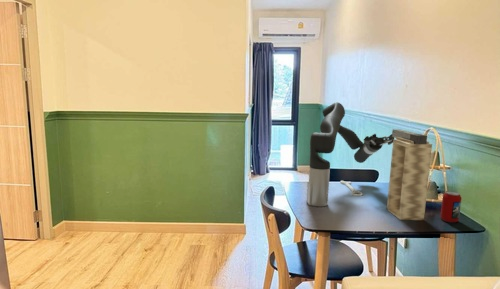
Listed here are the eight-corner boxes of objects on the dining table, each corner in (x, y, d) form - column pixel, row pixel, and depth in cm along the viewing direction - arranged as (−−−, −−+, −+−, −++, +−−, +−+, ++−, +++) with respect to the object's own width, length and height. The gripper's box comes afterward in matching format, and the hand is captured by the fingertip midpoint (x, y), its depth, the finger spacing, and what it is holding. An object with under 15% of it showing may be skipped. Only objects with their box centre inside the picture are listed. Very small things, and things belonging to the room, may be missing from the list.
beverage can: (458, 224, 143) (461, 196, 141) (439, 221, 146) (442, 193, 144) (458, 219, 148) (462, 192, 146) (440, 216, 152) (443, 189, 150)
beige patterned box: (400, 219, 146) (408, 141, 141) (386, 209, 159) (393, 136, 154) (423, 220, 147) (432, 141, 142) (408, 209, 159) (415, 137, 154)
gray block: (415, 144, 141) (416, 135, 140) (390, 136, 162) (391, 129, 162) (426, 144, 141) (427, 135, 140) (400, 136, 163) (401, 129, 162)
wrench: (349, 183, 206) (339, 183, 206) (349, 180, 205) (339, 179, 205) (363, 197, 178) (352, 196, 178) (364, 193, 178) (352, 192, 178)
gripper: (358, 138, 190) (369, 128, 175) (385, 139, 190) (397, 128, 175) (359, 152, 188) (370, 142, 172) (386, 152, 188) (399, 143, 173)
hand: (384, 135), depth 174 cm, fingers open, 8 cm apart
